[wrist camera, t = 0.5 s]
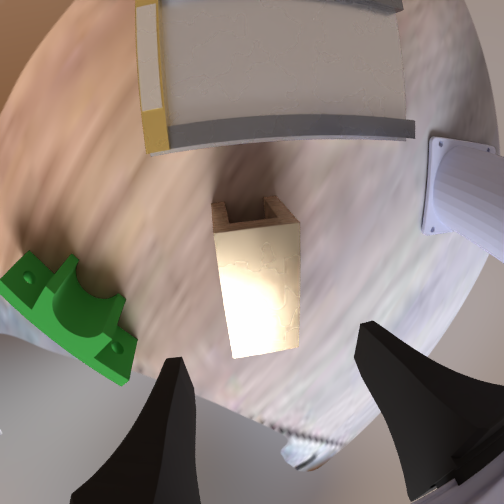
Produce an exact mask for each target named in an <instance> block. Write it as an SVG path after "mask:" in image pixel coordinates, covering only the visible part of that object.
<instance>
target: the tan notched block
mask: <svg viewBox="0 0 504 504" xmlns="http://www.w3.org/2000/svg"><path fill="white" fill-rule="evenodd" d="M263 201H264V216H265V219H263V220H255V221H247V222H239V223H231V224H229V220H228V215H227V211H226V207H225V202H218V203H211V207H212V221H213V234H214V241H215V248H216V255H217V262H218V268H219V275H220V281H221V288H222V294H223V300H224V307H225V313H226V319H227V325H228V331H229V336H230V342H231V348H232V353H233V358H239V357H245V356H252V355H258V354H264V353H270V352H275V351H281V350H286V349H291V348H296V347H299V316H300V222H299V221H298V220H297V219H296V218H295V217H294V215H293V214H292V213H291V212H290V211H289V210H288V209H287V208H286V206H285V205H284V204H283V203H282V202H281V201H280V200H279V199H278V198H277V196H269V197H263Z"/></svg>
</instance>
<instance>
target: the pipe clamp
mask: <svg viewBox="0 0 504 504" xmlns="http://www.w3.org/2000/svg"><path fill="white" fill-rule="evenodd" d="M78 261H79V259H77V258H76V257H75V256H74V255H73V254H71V255H70V256H69V257H68V258H67V260H66V261H65V262H64V263H63V264H62V266H61V267H60V268H59V269H58V271H57V272H56V273H55V274H54V273H53V272H52V271H51V270H49V269H48V268H47V267H46V266H45V265H44V264H43V263H42V262H41V261H40V260H39V259H38V258H37V257H36V256H35V255H34V254H33V253H32V252H31V251H30V250H29V251H28V252H27V253H26V254H25V255H24V256H23V257H21V258H20V259H19V260H18V261H17V262H16V263H15V264H14V265H13V266H12V267H11V268H10V269H9V270H8V272H7V273H6V274H5V275H4V276H3V277H2V278H1V279H0V294H1V295H2V296H3V297H4V298H5V299H6V300H7V301H8V302H9V303H10V304H11V305H12V306H13V307H14V308H15V309H16V310H18V311H19V312H20V313H21V314H22V315H23V316H24V317H25V318H26V319H28V320H29V321H30V322H31V323H32V324H33V325H35V326H36V327H37V328H38V329H39V330H41V331H42V332H43V333H44V334H46V335H47V336H48V337H49V338H51V339H52V340H53V341H55V342H56V343H57V344H58V345H60V346H61V347H62V348H64V349H65V350H67V351H68V352H69V353H71V354H72V355H73V356H75V357H76V358H78V359H79V360H81V361H82V362H83V363H85V364H86V365H88V366H89V367H91V368H92V369H94V370H96V371H97V372H99V373H101V374H102V375H103V376H105V377H106V378H108V379H110V380H111V381H113V382H115V383H116V384H118V385H120V386H123V385H124V384H125V383H127V382H128V381H129V379H130V373H131V369H132V364H133V359H134V354H135V350H136V345H137V341H138V340H137V339H136V338H135V337H133V336H132V335H130V334H129V333H127V332H126V331H125V330H123V329H122V328H120V327H119V326H118V325H117V324H118V321H119V318H120V315H121V312H122V309H123V306H124V304H125V301H126V299H125V298H124V297H122V296H121V295H120V294H119V293H118V294H117V295H115V296H114V297H112V298H108V299H100V298H96V297H94V296H91V295H90V294H88V293H87V292H86V291H85V290H84V289H83V288H82V287H81V286H80V284H79V282H78V280H77V277H76V266H77V263H78Z"/></svg>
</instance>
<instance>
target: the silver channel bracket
mask: <svg viewBox="0 0 504 504" xmlns="http://www.w3.org/2000/svg"><path fill="white" fill-rule="evenodd" d="M402 10H404V9H403V4H402V0H135V28H136V55H137V71H138V84H139V96H140V106H141V116H142V124H143V133H144V140H145V148H146V154H149V153H150V155H151V156H157V155H162V154H168V153H174V152H181V151H187V150H194V149H202V148H209V147H217V146H226V145H236V144H246V143H257V142H271V141H288V140H312V139H370V140H394V141H406V138H413V139H415V121H414V120H406V106H405V86H404V73H403V63H402V53H401V45H400V38H399V31H398V25H397V19H396V14H395V13H397V12H399V11H402Z"/></svg>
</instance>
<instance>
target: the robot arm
mask: <svg viewBox="0 0 504 504" xmlns="http://www.w3.org/2000/svg"><path fill="white" fill-rule="evenodd" d="M439 141H440V145H439ZM431 228H432V229H431ZM453 231H455V232H457V233H458V234H460V235H462V236H463V237H465V238H466V239H468V240H470V241H471V242H473V243H474V244H476V245H477V246H479V247H480V248H482V249H483V250H485V251H486V252H488V253H489V254H491V255H492V256H494V257H495V258H497V259H498V260H500V261H501V262H502V263H504V157H502V156H499V155H496V149H495V147H494V146H491V145H486V144H481V143H475V142H469V141H463V140H457V139H450V138H443V137H435V136H433V137H431V138H430V141H429V164H428V179H427V191H426V201H425V209H424V217H423V224H422V233H423V234H424V235H427V236H428V235H434V234H441V233H447V232H453ZM354 359H355V361H356V364H357V367H358V369H359V372H360V374H361V377H362V378H363V380H364V382H365V384H366V386H367V388H368V389H369V391H370V393H371V395H372V397H373V398H374V400H375V402H376V404H377V405H378V407H379V409H380V411H381V413H382V414H383V416H384V418H385V420H386V423H387V425H388V428H389V430H390V433H391V435H392V438H393V441H394V443H395V447H396V450H397V452H398V456H399V459H400V463H401V466H402V470H403V473H404V478H405V483H406V488H407V493H408V497H409V499H410V501H414V500H416V499H418V498H420V497H421V496H423V495H425V494H427V493H429V492H430V491H432V490H434V489H436V488H437V489H436V490H435V491H433V492H432V493H430V494H428V495H426V496H424V497H423V498H421V499H419V500H417V501H415V502H413V503H411V504H504V386H502V385H497V384H492V383H488V382H484V381H480V380H477V379H474V378H471V377H468V376H465V375H463V374H460V373H458V372H455V371H453V370H451V369H449V368H447V367H445V366H443V365H441V364H439V363H437V362H435V361H433V360H431V359H430V358H428V357H426V356H425V355H423V354H421V353H420V352H418V351H417V350H415V349H413V348H412V347H410V346H409V345H407V344H406V343H404V342H403V341H402V340H400V339H399V338H397V337H396V336H394V335H393V334H392V333H390V332H389V331H387V330H386V329H385V328H383V327H382V326H380V325H379V324H377V323H376V322H374V321H369V322H366V323H362V324H360V328H359V334H358V339H357V345H356V350H355V355H354ZM195 435H196V404H195V393H194V387H193V384H192V382H191V379H190V377H189V374H188V372H187V369H186V366H185V364H184V361H183V358H182V357H176V358H167V359H166V360H165V362H164V364H163V367H162V369H161V372H160V374H159V376H158V379H157V381H156V383H155V385H154V387H153V389H152V391H151V394H150V396H149V398H148V400H147V402H146V404H145V405H144V407H143V409H142V411H141V413H140V414H139V416H138V418H137V420H136V421H135V423H134V425H133V426H132V428H131V430H130V431H129V433H128V434H127V435H126V437H125V438H124V440H123V441H122V443H121V444H120V445H119V447H118V448H117V449H116V450H115V452H114V453H113V454H112V455H111V457H110V458H109V459H108V460H107V461H106V462H105V464H104V465H102V467H101V468H100V469H99V470H98V471H97V472H96V473H95V474H94V475H93V476H92V477H91V478H90V479H89V480H88V481H86V482H85V483H84V484H83V485H82V486H81V487H79V488H78V489H77V490H76V491H75V492H73V493H72V495H71V499H70V504H201V502H200V496H199V489H198V482H197V475H196V464H195Z"/></svg>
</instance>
